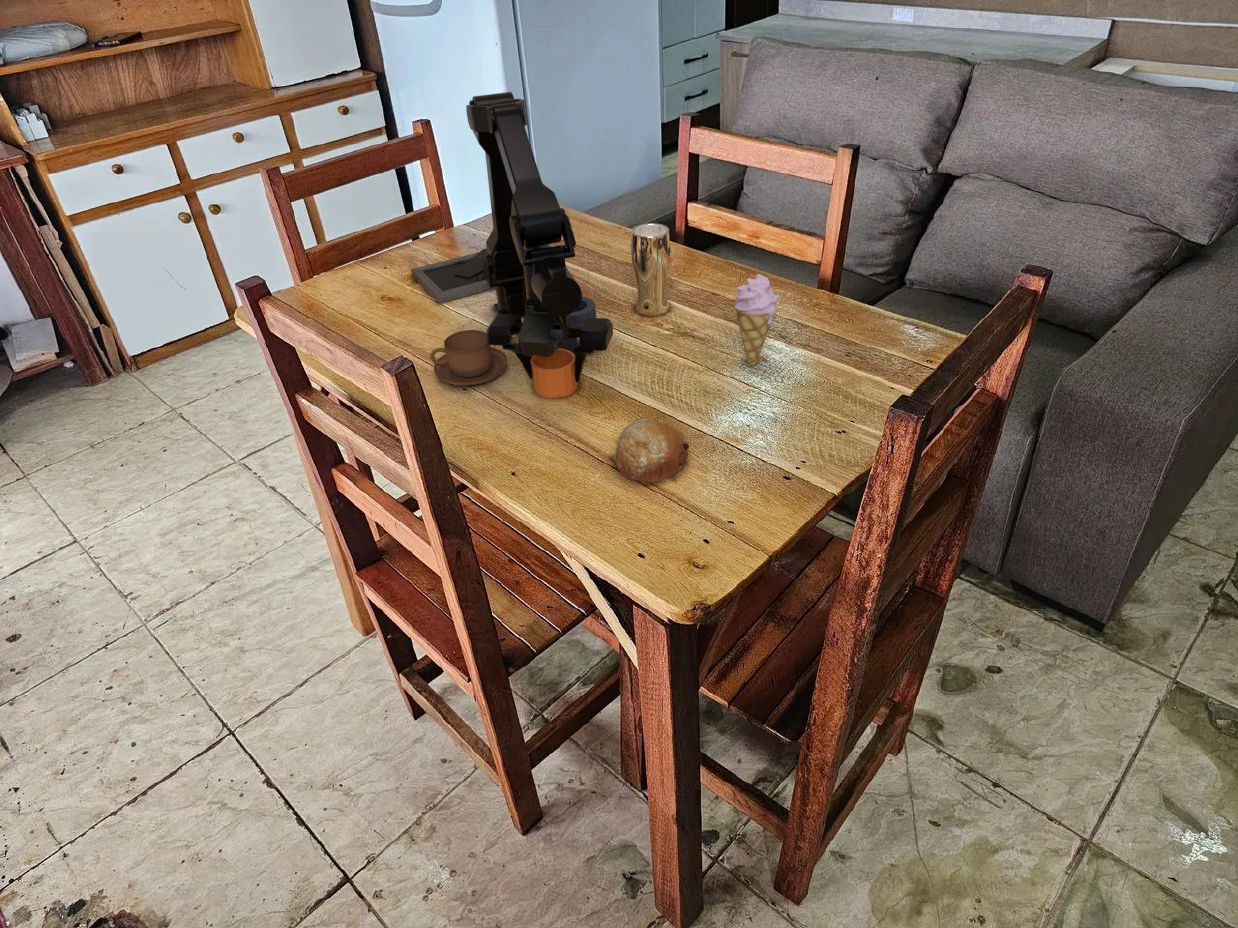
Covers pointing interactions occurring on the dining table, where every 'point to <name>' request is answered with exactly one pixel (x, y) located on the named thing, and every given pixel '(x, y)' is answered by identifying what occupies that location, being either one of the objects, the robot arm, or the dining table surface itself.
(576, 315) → the jar
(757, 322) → the ice cream cone
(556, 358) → the cup
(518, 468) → the dining table surface
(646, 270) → the beer glass
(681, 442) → the bread roll
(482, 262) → the picture frame
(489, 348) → the cup and saucer
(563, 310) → the robot arm
